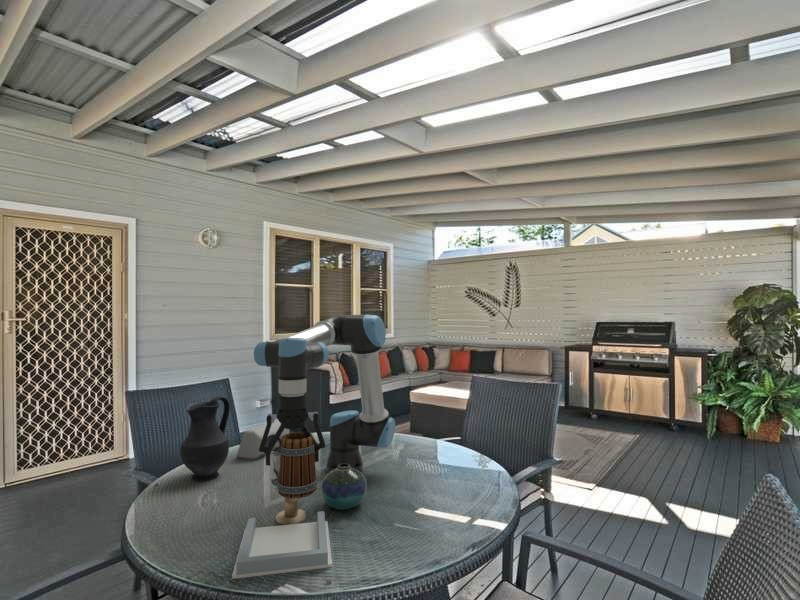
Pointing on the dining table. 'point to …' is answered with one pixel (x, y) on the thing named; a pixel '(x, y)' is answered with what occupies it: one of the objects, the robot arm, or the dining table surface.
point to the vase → (343, 487)
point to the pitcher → (206, 440)
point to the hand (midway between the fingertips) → (292, 475)
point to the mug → (295, 465)
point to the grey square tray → (283, 548)
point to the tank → (257, 440)
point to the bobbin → (291, 513)
